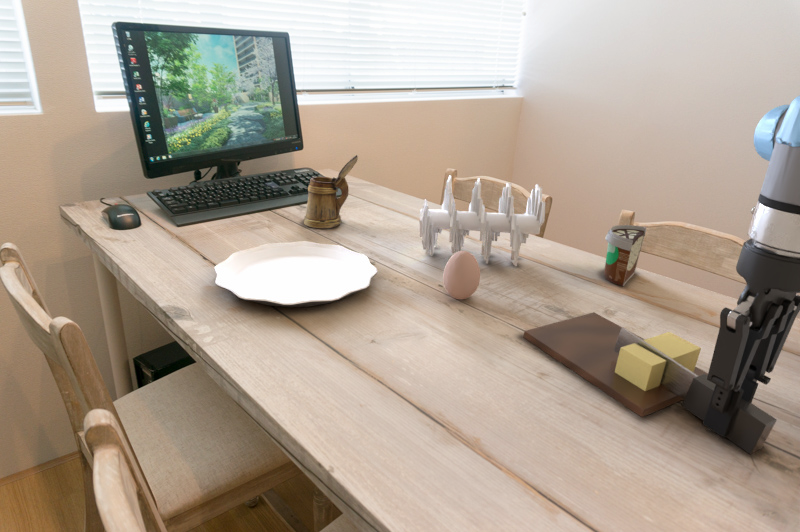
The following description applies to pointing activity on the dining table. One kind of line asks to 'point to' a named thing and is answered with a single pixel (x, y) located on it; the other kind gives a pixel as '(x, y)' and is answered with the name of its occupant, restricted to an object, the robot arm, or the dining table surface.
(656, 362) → the butter slice
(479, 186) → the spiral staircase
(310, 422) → the dining table surface
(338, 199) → the wooden mug
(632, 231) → the food container
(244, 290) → the plate
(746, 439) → the knife
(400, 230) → the dining table surface
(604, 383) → the cutting board
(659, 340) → the butter bar
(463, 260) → the egg
